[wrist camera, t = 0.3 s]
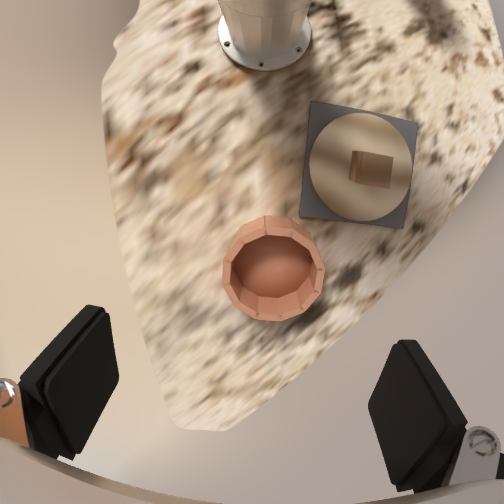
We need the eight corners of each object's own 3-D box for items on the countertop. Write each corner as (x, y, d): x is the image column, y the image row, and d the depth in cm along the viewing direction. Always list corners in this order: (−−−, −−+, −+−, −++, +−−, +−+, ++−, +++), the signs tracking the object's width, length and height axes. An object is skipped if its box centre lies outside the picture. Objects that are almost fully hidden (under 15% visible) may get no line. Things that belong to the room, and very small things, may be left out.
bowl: (230, 212, 43) (225, 222, 38) (322, 221, 43) (331, 233, 37) (225, 296, 48) (220, 315, 42) (309, 303, 47) (314, 323, 42)
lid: (314, 105, 37) (322, 98, 32) (414, 125, 37) (434, 124, 32) (303, 213, 42) (309, 223, 37) (400, 225, 42) (418, 236, 37)
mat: (310, 101, 38) (311, 101, 37) (415, 123, 38) (417, 123, 37) (298, 215, 43) (299, 216, 42) (401, 227, 43) (402, 228, 42)
